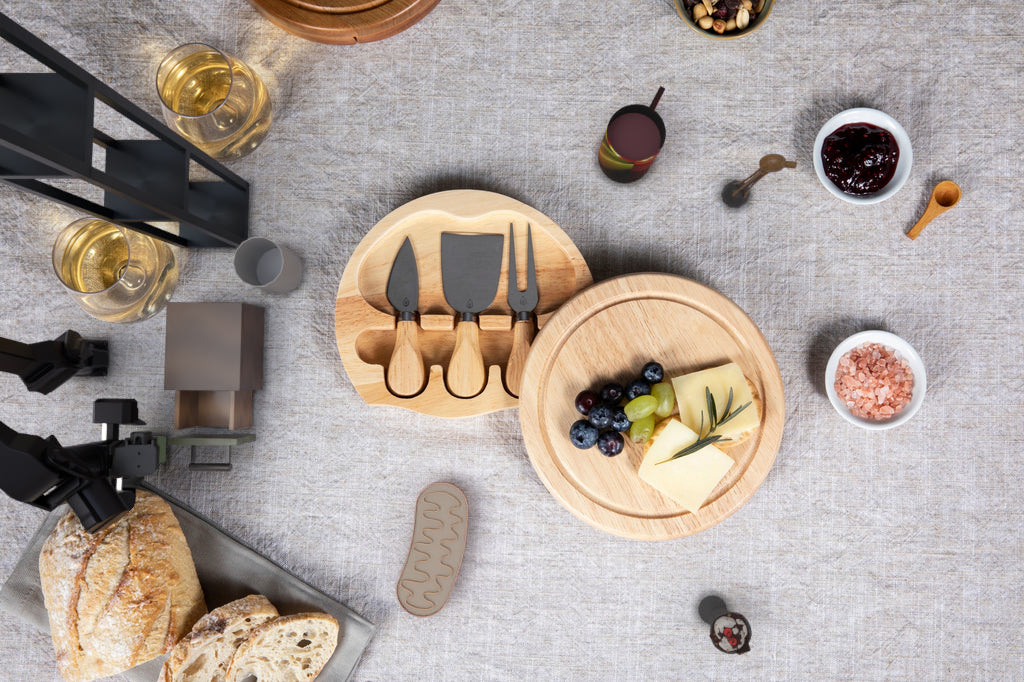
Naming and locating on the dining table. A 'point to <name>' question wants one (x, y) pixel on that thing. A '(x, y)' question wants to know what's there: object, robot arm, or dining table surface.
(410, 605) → the mitochondrion model
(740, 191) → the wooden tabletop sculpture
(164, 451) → the block
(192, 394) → the drawer
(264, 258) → the cup
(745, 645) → the sundae
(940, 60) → the dining table surface
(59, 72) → the rack
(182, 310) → the cabinet
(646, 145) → the mug
